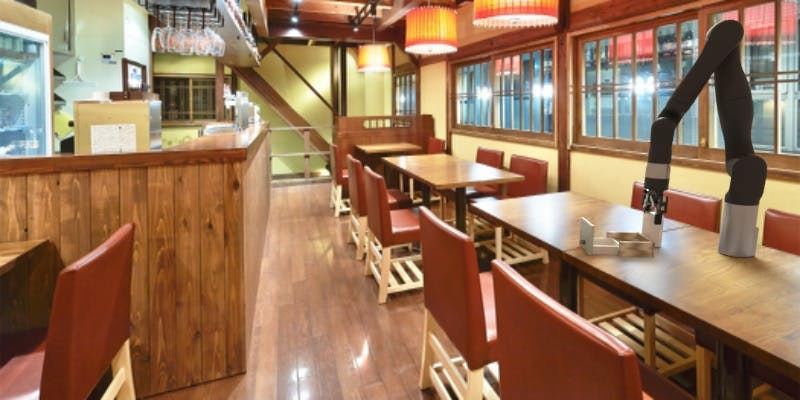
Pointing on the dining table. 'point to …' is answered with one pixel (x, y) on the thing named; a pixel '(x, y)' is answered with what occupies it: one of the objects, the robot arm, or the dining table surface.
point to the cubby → (632, 244)
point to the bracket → (595, 240)
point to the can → (652, 228)
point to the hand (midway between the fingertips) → (651, 221)
